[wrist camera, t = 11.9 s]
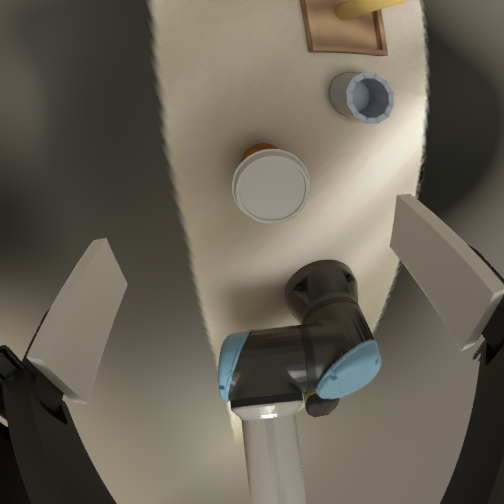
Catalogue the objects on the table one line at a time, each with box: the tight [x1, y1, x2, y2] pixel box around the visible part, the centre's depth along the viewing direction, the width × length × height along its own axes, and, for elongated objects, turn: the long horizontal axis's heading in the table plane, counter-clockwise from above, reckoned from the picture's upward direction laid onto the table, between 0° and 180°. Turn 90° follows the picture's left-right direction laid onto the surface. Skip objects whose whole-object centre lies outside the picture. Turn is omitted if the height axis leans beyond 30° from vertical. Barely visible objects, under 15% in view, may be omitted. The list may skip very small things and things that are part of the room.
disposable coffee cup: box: [232, 144, 311, 224], centre depth 36 cm, size 10×10×12 cm
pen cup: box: [329, 72, 394, 123], centre depth 32 cm, size 7×7×7 cm
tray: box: [300, 0, 388, 56], centre depth 26 cm, size 14×12×2 cm
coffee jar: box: [303, 390, 339, 417], centre depth 62 cm, size 10×8×19 cm
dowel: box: [335, 0, 406, 21], centre depth 20 cm, size 3×3×15 cm
